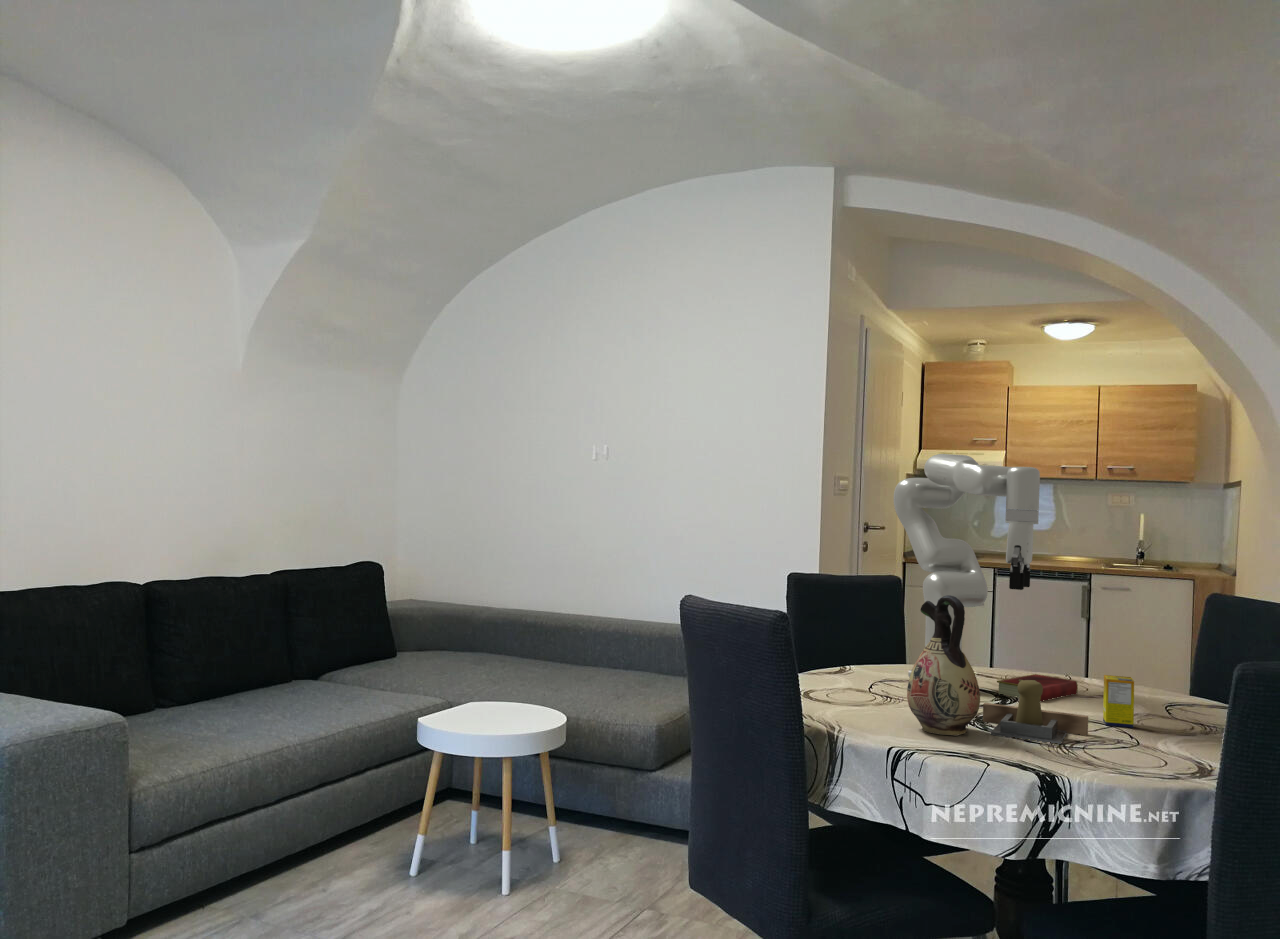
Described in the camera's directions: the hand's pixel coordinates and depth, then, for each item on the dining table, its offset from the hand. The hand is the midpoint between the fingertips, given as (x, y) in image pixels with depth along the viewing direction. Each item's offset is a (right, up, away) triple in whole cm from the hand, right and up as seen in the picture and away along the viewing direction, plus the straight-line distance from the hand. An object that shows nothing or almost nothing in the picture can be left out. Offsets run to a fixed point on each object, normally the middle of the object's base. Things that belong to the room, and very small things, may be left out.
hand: (1019, 588), depth 240 cm
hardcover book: (+14, -32, +25) cm, 43 cm away
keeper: (-7, -29, -24) cm, 38 cm away
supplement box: (+19, -31, -10) cm, 38 cm away
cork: (-7, -29, -23) cm, 38 cm away
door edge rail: (-3, -30, -17) cm, 34 cm away
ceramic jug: (-26, -29, -25) cm, 46 cm away
